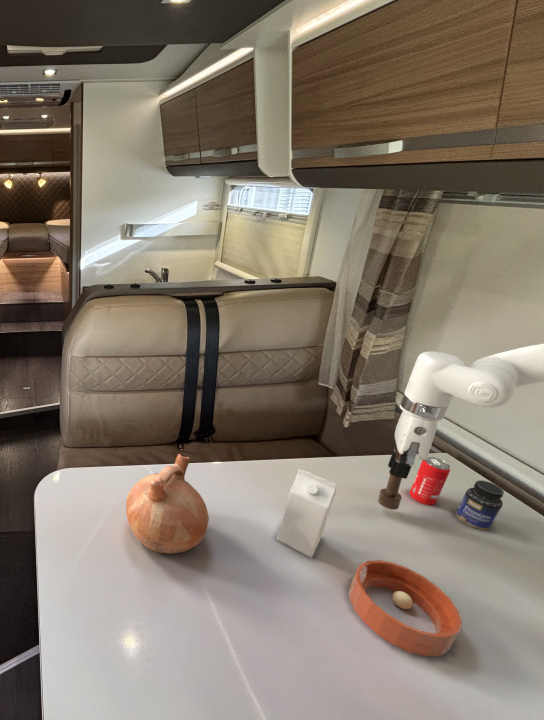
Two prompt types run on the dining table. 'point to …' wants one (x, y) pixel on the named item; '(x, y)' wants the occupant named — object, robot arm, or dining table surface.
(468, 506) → the pill bottle
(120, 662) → the dining table surface
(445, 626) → the ring
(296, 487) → the milk carton
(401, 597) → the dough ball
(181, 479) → the jug
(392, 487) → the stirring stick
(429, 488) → the beverage can
